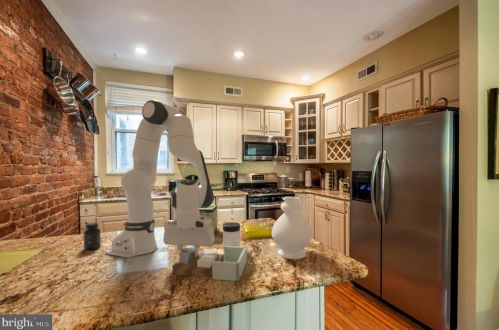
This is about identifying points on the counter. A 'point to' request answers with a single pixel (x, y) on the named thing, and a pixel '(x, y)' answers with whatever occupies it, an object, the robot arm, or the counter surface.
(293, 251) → the decorative vase
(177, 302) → the counter surface
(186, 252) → the grey block
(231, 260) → the box
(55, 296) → the counter surface
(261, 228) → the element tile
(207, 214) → the protein box
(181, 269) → the board
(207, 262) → the tile near
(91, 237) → the supplement bottle
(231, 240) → the jar
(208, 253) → the tile far
